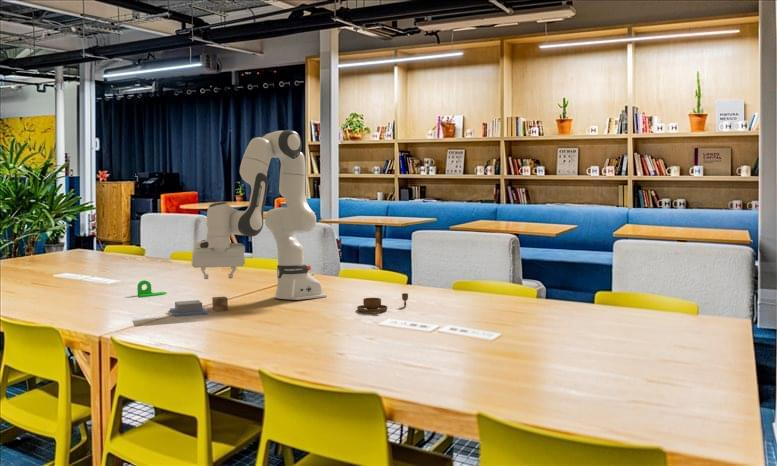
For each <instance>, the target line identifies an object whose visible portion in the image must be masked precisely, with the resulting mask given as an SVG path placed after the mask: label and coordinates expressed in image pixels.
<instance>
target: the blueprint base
mask: <svg viewBox="0 0 777 466" xmlns="http://www.w3.org/2000/svg"><path fill="white" fill-rule="evenodd" d="M169 311H170V312H171V314H172V315H173V316H174V317H187V316H200V315H201V316H203V315H209V312H208V310H207V309H205V308H204V307H203V302H201V300H198V299H197V300H194V299H193V300H182V301H181V300H180V301H179V300H177V301H174V307H171V308H170V309H169Z"/></svg>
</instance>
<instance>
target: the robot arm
mask: <svg viewBox="0 0 777 466" xmlns="http://www.w3.org/2000/svg"><path fill="white" fill-rule="evenodd" d="M301 139H302V138H301V136H300V135H299V133H298V132H297V131H294V130H291V129H286V130H275V131H273V132H269V133H265V134H262V135H261V136H260V137H258V136H257V137H253V138H252V139H251V140H250V141H249V143H248V145H247V147H246V148H245V151H244V154H243V156H242V159H241V163H240V166H239V175H240V177H241V179H242V180H243V181H244V182H245V183H247V184H248V185H250V189H251V192H250V196H249V202H248V207H247V208H246V210H238V209H235V208H234V207H232V206H231V205H230V204H229V203H228V202H226V201H220V202H214V203H211V204H209V205H208V208H207V211H206V227H207V233H206V239H203V240H200V241H197V242H195V243H194V247H195V249H194V250H193V251H192V255H191V266H192V267H193V268H194V269H195V268H200V271H201V273H202V274H203V279H204V280H209V274H207V273H206V268H229V267H230V268H231V271H230V273H228V276H227V277H228V279H233V278H234V273H235V272H236V270H237V268H236V267H244V266H245V265H246V263H245V262H246V261H245V260H246V259H245V253H246V246H245V245H244V244H242V243H241V242H238V243H235V242H234V243H232V242H231V235H234V236H235V235H237V236H246V237H255V236H258V235H259V234H260V233H261V231H262V230H263V227H264V223H265V227H266V228H267V229H268V230H269V231H270V232H271V234H272V235H273V238H274V241H275V244H276V247H277V265H276V266H277V267H276V277H277V284H276V292H275V295H274V298H275V299H279V300H280V299H281V300H294V301H295V300H296V301H297V300H300V301H301V300H307V299H317V298H319V299H321V298H327V297H328V294H327V292H323V288H322V284H321V281H320V280H318V279H317V278H315V276H313V275H312V274H310V273H309V271H311V270H312V266H311V265H306V264H305V262H304V261H305V259H304V258H305V255H304V254H305V253H304V251H305V250H304V245H302V243H301V242H300V241H298V238H297V236H296V234H303V233H307V232H311V231H313V230H314V229H315V228H316V226H317V225H316V224H317V216H316V213H315V211H314V210H312V208H311V207H310V205H309V203H308V200H307V197H306V175H307V174H306V173H307V171H306V170H307V169H306V159H305V154H304V153H303V152H302V150H303V149H302V146H303V145H302V140H301ZM273 158H274V159H277V158H278V159H279V161H280V169H279V182H278V183H279V186H278V187H279V188H278V192H279V194H280V196H281V197H282V198H284V201H285V203H286V207H276V208H272V209H269V210H268V211H267V212H266V214H265V217H264V210H265V204H266V200H267V199H266V198H267V194H268V186H269V178H268V170H269V166H270V163H271V160H272V159H273Z"/></svg>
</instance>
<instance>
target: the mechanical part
mask: <svg viewBox="0 0 777 466" xmlns="http://www.w3.org/2000/svg"><path fill="white" fill-rule="evenodd" d="M144 285H145V286H146V288H145V289H143V286H144ZM136 289H137V296H138V297H139V298H149V297H156V296H165V295H167V293H168V292H166V291H160V292H152V284H151V282H150V281H148V280H140V281H139V282H138V284H137V288H136Z"/></svg>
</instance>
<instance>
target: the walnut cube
mask: <svg viewBox="0 0 777 466" xmlns="http://www.w3.org/2000/svg"><path fill="white" fill-rule="evenodd" d="M211 301H212V311H214V312H222V311H223V312H227V311H228V310H229V306H228V305H229V304H228V303H229V302H228V297H226V296H213V297H212V300H211Z"/></svg>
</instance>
